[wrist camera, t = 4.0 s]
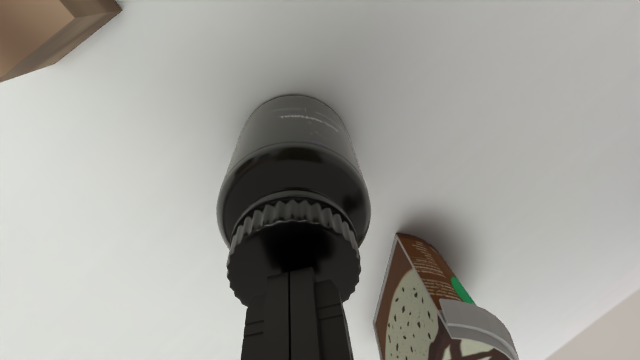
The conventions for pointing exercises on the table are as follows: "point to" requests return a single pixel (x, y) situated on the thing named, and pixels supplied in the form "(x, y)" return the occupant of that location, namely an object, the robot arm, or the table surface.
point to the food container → (433, 311)
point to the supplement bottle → (293, 199)
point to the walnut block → (46, 31)
